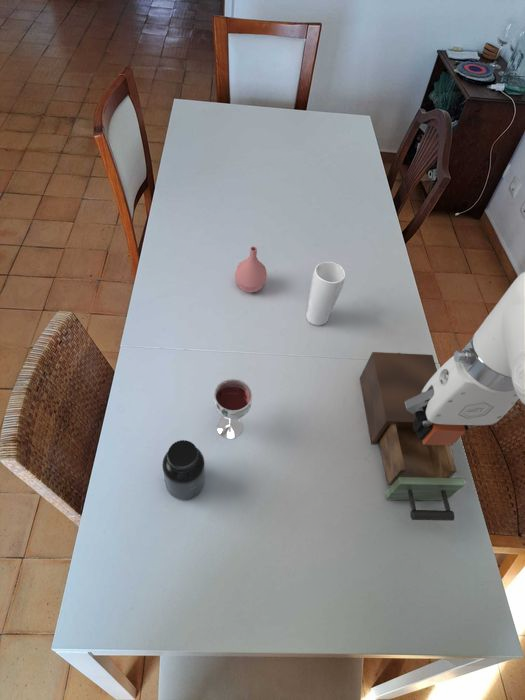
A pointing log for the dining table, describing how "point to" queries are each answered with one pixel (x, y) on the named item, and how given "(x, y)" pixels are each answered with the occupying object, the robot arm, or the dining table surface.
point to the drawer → (418, 471)
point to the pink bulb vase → (251, 273)
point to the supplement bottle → (184, 470)
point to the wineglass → (232, 406)
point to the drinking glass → (324, 291)
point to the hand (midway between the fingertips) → (435, 430)
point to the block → (443, 434)
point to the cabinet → (392, 388)
